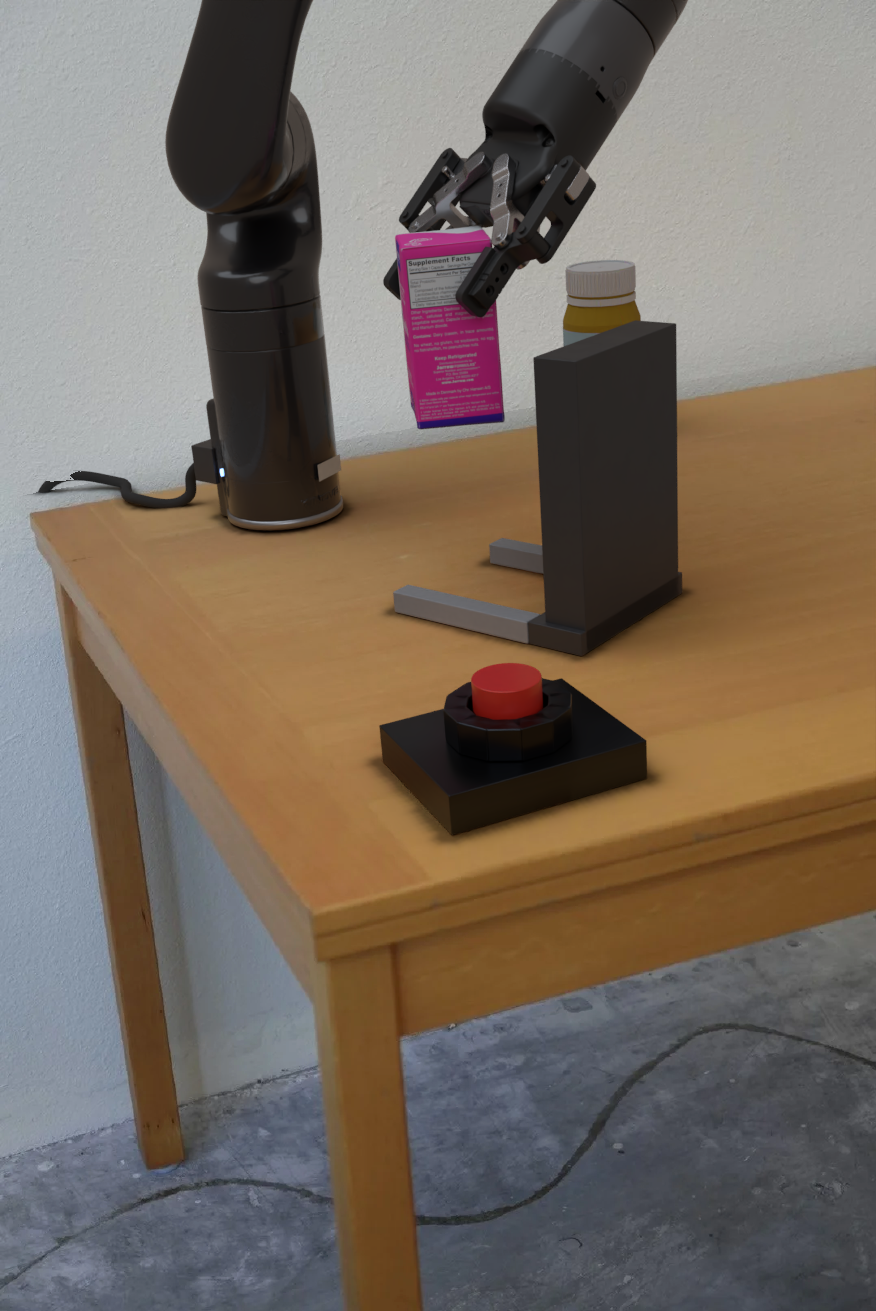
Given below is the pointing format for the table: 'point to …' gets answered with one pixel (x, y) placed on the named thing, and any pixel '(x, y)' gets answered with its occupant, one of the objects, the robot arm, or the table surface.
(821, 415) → the table surface
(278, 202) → the robot arm
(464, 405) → the supplement box
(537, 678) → the red button
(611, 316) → the bottle
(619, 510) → the upright panel stand
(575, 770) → the control block
